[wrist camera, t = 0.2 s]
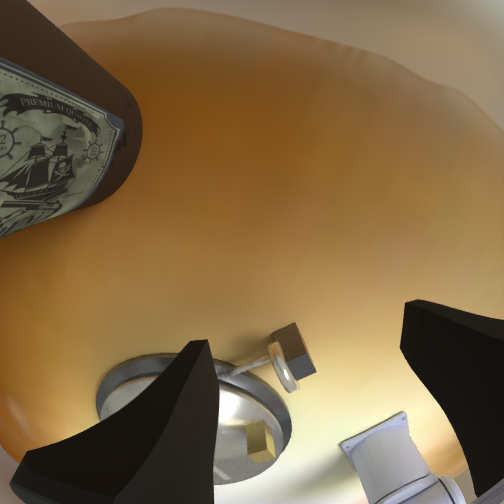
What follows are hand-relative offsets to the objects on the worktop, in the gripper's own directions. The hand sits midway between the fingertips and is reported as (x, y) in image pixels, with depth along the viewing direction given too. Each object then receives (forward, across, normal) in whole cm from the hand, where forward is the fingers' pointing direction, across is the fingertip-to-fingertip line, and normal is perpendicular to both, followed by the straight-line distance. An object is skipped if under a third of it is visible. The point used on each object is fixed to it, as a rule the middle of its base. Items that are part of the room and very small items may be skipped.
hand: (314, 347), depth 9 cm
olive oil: (+10, +12, -11) cm, 19 cm away
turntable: (+9, +10, +15) cm, 20 cm away
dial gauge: (+10, +2, +7) cm, 12 cm away
